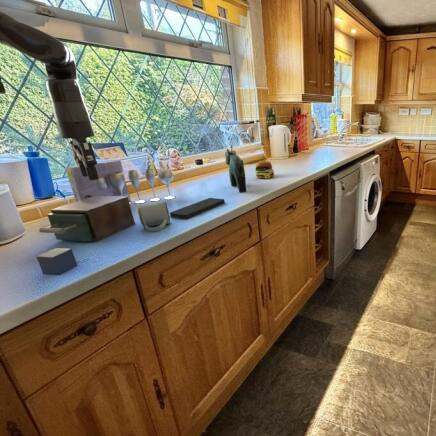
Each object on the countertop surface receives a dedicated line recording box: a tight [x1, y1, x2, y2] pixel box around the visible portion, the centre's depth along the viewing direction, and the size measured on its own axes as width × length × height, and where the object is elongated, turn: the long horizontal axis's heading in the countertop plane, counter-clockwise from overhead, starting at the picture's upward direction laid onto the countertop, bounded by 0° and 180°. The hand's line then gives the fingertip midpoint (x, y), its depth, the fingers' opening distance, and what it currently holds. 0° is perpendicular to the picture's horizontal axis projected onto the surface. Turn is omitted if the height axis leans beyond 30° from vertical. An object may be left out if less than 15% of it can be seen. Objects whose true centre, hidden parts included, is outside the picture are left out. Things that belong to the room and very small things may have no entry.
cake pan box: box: [64, 159, 132, 202], centre depth 118 cm, size 19×5×18 cm, turn 158°
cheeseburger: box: [255, 160, 275, 180], centre depth 164 cm, size 10×11×10 cm
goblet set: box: [98, 168, 177, 205], centre depth 124 cm, size 28×6×13 cm, turn 121°
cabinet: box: [50, 196, 136, 243], centre depth 94 cm, size 15×13×10 cm
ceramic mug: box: [137, 200, 172, 232], centre depth 97 cm, size 11×8×8 cm
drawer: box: [38, 212, 93, 242], centre depth 90 cm, size 18×11×8 cm, turn 170°
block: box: [35, 247, 78, 276], centre depth 72 cm, size 5×5×5 cm
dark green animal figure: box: [224, 144, 247, 193], centre depth 141 cm, size 20×6×20 cm, turn 28°
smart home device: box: [169, 197, 226, 220], centre depth 114 cm, size 8×2×20 cm
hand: (90, 177), depth 88 cm, fingers open, 8 cm apart
